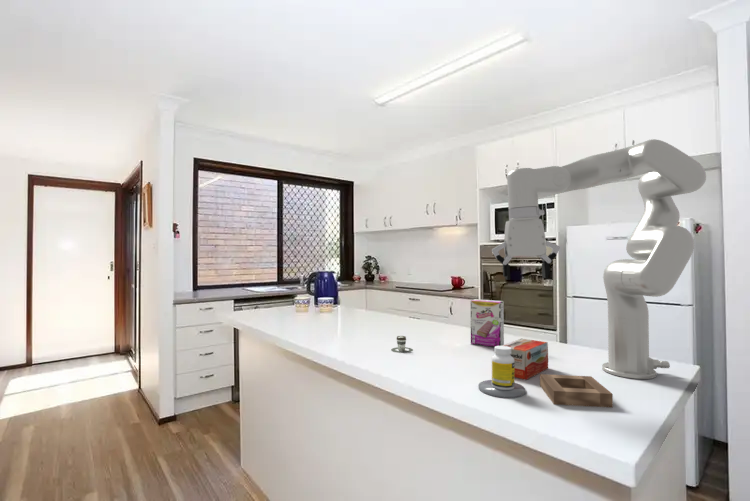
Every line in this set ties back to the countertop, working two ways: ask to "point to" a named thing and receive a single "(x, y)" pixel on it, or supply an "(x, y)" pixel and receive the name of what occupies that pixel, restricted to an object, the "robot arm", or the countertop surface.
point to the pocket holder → (575, 391)
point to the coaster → (490, 390)
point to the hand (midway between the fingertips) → (526, 278)
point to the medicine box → (528, 357)
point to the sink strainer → (401, 345)
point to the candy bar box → (487, 322)
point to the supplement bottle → (503, 368)
